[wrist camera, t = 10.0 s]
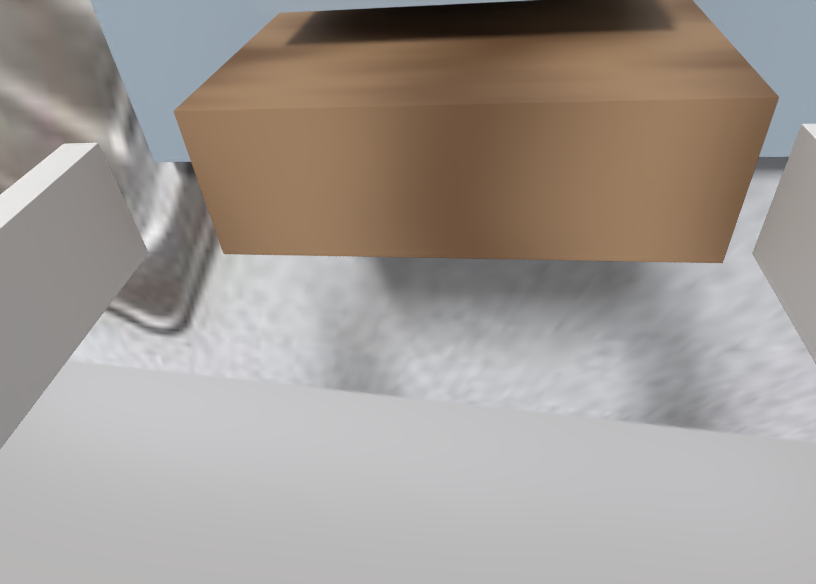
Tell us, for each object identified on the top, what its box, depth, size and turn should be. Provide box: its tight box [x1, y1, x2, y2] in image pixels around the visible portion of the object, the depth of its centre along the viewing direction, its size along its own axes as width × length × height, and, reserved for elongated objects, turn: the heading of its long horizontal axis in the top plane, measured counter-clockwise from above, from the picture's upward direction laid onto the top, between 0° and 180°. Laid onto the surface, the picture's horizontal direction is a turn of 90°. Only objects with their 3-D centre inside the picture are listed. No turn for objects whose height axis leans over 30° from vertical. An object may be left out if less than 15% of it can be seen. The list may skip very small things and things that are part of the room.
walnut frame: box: [173, 0, 779, 263], centre depth 15 cm, size 11×4×8 cm, turn 94°
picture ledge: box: [90, 0, 816, 162], centre depth 16 cm, size 24×7×6 cm, turn 94°
